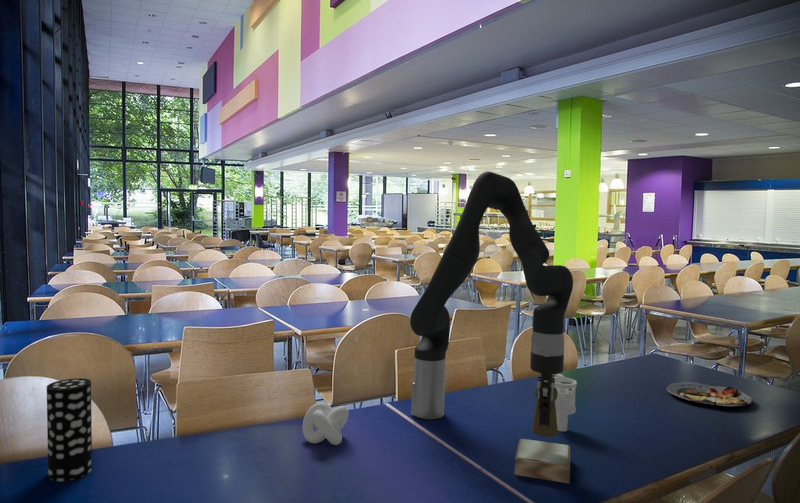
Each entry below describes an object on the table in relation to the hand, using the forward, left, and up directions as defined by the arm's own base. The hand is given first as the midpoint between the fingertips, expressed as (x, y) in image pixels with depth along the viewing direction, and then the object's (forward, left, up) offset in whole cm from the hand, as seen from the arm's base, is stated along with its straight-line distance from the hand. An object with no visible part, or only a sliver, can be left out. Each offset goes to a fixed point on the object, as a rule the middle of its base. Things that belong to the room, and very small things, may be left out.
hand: (544, 422), depth 125 cm
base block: (0, 0, -11) cm, 11 cm away
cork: (0, 0, -2) cm, 2 cm away
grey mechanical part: (+4, +26, -11) cm, 28 cm away
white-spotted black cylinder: (-100, -39, -11) cm, 108 cm away
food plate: (+51, +72, -11) cm, 89 cm away
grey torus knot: (-54, -3, -11) cm, 55 cm away
